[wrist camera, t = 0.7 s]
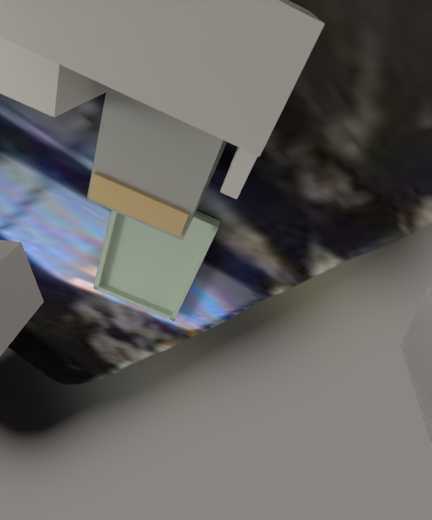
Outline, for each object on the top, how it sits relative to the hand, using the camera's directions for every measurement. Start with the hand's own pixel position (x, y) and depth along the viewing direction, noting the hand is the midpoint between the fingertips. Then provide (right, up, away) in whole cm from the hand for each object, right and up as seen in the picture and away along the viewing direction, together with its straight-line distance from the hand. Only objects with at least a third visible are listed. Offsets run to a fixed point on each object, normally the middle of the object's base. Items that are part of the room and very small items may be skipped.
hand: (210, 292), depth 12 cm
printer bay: (0, +17, +12) cm, 21 cm away
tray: (-6, +2, +24) cm, 25 cm away
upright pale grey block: (-1, +13, +15) cm, 20 cm away
